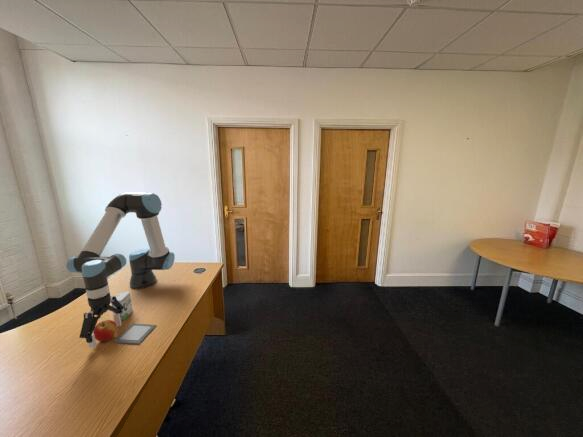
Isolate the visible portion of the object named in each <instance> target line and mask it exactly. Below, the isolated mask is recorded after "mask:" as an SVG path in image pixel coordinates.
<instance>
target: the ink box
mask: <svg viewBox="0 0 583 437" xmlns="http://www.w3.org/2000/svg"><path fill="white" fill-rule="evenodd" d="M131 297H132V296H131V292H130V291H122V292H119V293H118V294H117V295H116V299H117V301H118V302H119V303H120V304H121V305H122V306H123V307H124V308H123V309H122V313H121V321H125V320H126V319H127V318H128V317H129V315H130V314H131V313H132V312H133V304H132V298H131ZM110 304H111V306H113V307H114V308H116V307H115V306H114V305H113V304H112V303H111V302H110ZM114 313H115V312H112V315H113V314H114Z"/></svg>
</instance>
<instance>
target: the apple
mask: <svg viewBox="0 0 583 437" xmlns="http://www.w3.org/2000/svg"><path fill="white" fill-rule="evenodd" d="M117 328H118V326H116V323H115V322H114V320H111V319H109V320H108V319H107V320H103V321H100V322H99V323H98V322H97V324H96V326H95V328H94V331H93V333H92V334H94V336H95V340H96V341H98V342H106V341H109V340H111V339H112V338H113V337H114V336H115V335H116V333H117Z"/></svg>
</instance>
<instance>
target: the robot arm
mask: <svg viewBox="0 0 583 437" xmlns="http://www.w3.org/2000/svg"><path fill="white" fill-rule="evenodd" d="M162 205H163V204H162V200H161V198H160V197H159V195H158V194H156V193H154V192H153V193H151V192H129V191H128V192H123V193H121V194H118V195H117V196H115V197H114V198H113V199H112V200H111V201H110V202H109V203H108V204H107V205H106V207H105V208H104V212H105V213H104V215H103V216H102V217H101V219H100V221H99V222H98V224H97V225H96V227H95V229H94V230H93V231H92V234H91V235H90V237H89V238H88V240H87V241H86V243H85V245H84V246H83V248H82V249H81V251H80V252H79V254H78V255H74V256H72V257H70V258H69V259H68V260H67V262H66V265H65V266H66V269H67V271H69V272H70V273H79V274H81V275H82V278H83V284H84V288H85V292H86V298H87V304H88V307H89V308H90V311H89V312H84V313H83V321H82V324H81V330H80V333H79V339H85V341H86V343H87V344H88V348H91V349H92V348H93V349H95V348H97V347H98V346H97V345H98V344H97V340H96V339H95V336H94V334H93V332H94V328H95V326H96V325H97V324H98V321H99V319H101V317H102V316H103V315H104V314H105V313H107V312H108V311H110V312H112V315H113V321H114V322H115V323H116V326H117V327H121V326H122V325H123V324H122V320H121V313H122V309H123V308H124V307H123V306H122V305H121V304H120V303H119V302H118V301H117V299H116V296H117V295H116V296H115V295H111V292H110V286H109V281H108V277H111V276H112V275H113V274H114V273H117V272H118V271H120V270H122V268H124V267H125V266H126V265H127V258H126V257H125V255H123V254H121V253H114V254H112V255H110V256H101V255H102V253H103V251H104V250H105V248H106V247H107V245H108V243H109V241H110V239H111V237H112V235H113V234H114V232H115V230H116V229H117V227H118V225H119V223H120V221H121V220H122V219H123V218H125V217H126V216H127V214H128V213H133V214H134V213H135V214H136V215H135V216H136V218H137V219H139V220H141V224H142V227H143V231H144V234H145V237H146V240H147V243H148V246H149V248H142V249H138V250H135V251H133V252H131V253H129V255H128V261H129V266H130V272H131V273H130V274H131V276H130V279H129V280H130V281H129V287H130V288H131V289H137V290H138V289H143V288H144V289H145V288H147V287H151V286H152V285H154V284H156V282H157V276H156V275H155V273H154V271H156V270H157V271H166V270H170V269H171V268H172V267H173V265H174V263H175V259H176V258H175V253H174V252H172V251H170V249H169V247H167V246H166V244H165V240H164V237H163V233H162V229H161V225H160V222H159V217H158V216H159V215H160V212H161V210H162ZM111 303H112V304H113V305H114V306H115V307H116V308H114V307H113V306H112V304H111ZM110 304H111V305H110ZM113 312H115V313H114V314H113Z"/></svg>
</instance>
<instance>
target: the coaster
mask: <svg viewBox="0 0 583 437" xmlns="http://www.w3.org/2000/svg"><path fill="white" fill-rule="evenodd" d="M156 327H157V325H156V324H148V323H147V324H146V323H132V324H131V325H130V326H129V327H127V328H126V329H125V331H124V332H122V333H121V334H120V335H119V336H118V337H117V338H116V339H114V341H113V343H115V344H126V345H127V344H128V345H129V344H130V345H140V344H141V343H142V342H143V341H144V340H145V339H146V338H147V337H148V336H149V334H151V333H152V332H153V330H154V329H155V328H156Z"/></svg>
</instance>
